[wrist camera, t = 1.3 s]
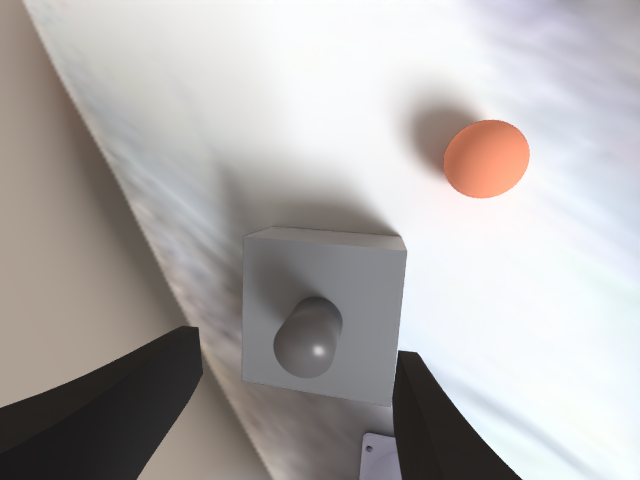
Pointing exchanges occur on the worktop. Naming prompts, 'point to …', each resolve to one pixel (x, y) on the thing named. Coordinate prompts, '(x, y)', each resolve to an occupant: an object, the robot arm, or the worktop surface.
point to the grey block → (322, 311)
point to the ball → (486, 159)
